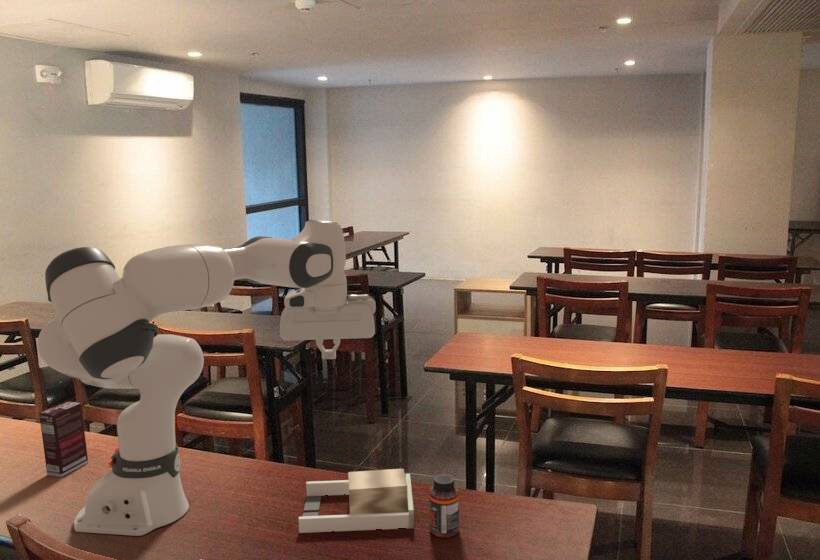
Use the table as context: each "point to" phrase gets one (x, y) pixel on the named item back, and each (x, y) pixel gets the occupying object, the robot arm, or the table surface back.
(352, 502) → the birch block
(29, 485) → the table surface
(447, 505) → the supplement bottle
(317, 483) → the box
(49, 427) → the supplement box
